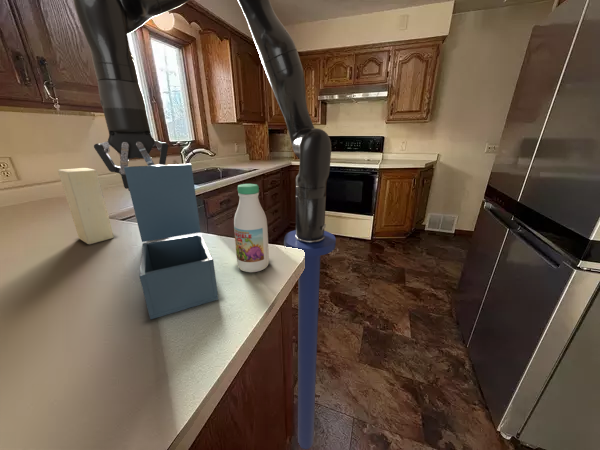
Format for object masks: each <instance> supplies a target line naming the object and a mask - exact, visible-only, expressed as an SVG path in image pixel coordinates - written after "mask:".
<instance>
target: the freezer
mask: <svg viewBox="0 0 600 450" xmlns="http://www.w3.org/2000/svg"><path fill="white" fill-rule="evenodd" d="M140 255H141V256H140V265H139V275H138V276H139V280H140V284H141V290H142V292H143V296H144V301H145V305H146V308H147V312H148V316H149V320H155V319H157V318H161V317H164V316H167V315H171V314H174V313H177V312H180V311H184V310H187V309H192V308H194V307H198V306H200V305H204V304H208V303H211V302H214V301H218V300H219V293H218V284H217V277H216V270H215V269H216V268H215V262H214V258H213V256H212V254H211V251H210V250H209V248H208V245H207V243H206V242H205V239H204V237H203V235H202V234H201V233H195V234H189V235H183V236H177V237H171V238H165V239H159V240H153V241H147V242H142V245H141V253H140Z"/></svg>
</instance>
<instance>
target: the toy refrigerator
mask: <svg viewBox="0 0 600 450" xmlns="http://www.w3.org/2000/svg"><path fill="white" fill-rule="evenodd" d="M57 172H58V176H59V179H60V182H61V185H62V189H63V192H64V195H65V199H66V201H67V205H68V208H69V212H70V214H71V218H72V220H73V224H74V227H75V230H76V233H77V236H78V239H79V240H80V241H82V242H84V243H85V244H87V245H92V244H96V243H99V242H103V241H107V240H110V239H114V232H113V228H112V225H111V220H110V217H109V213H108V210H107V209H108V208H107V205H106V201H105V197H104V193H103V190H102V185H101V182H100V179H99V174H98V171H97V169H93V168H90V167H89V168H88V167H79V168H78V167H76V168H64V169H58V170H57Z"/></svg>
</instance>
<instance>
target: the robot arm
mask: <svg viewBox="0 0 600 450" xmlns="http://www.w3.org/2000/svg"><path fill="white" fill-rule="evenodd" d="M72 1H73V5H74V8H75V12H76V15H77V18H78V22H79V24H80V26H81V29H82V32H83V35H84V37H85V40H86V42H87V45H88V48H89V51H90V55H91V61H92V65H93V69H94V70H93V71H94V73H95V77H96V81H97V87H98V96H99V102H100V105H101V107H102V111H103V116H104V119H105V123H106V127H107V131H108V138H107V141H103V142H101V143H94V144H93V148H94V149H95V151H96V153H97V154H98V156H99V158H100V159H101V160H102V163H104V165H105V167H106V168H107V169H108V171H109V172H111V173H117V174H119V175H120V176H121V180H122V184H123V187H124V189H126V190H127V189H128V191H129V192H130V190H129V186H128V182H127V178H126V174H125V170H124V167H129V161H130V159H131V160H132V159H135V158H137V159H143V160H144V161H145V163H146V166H154V165H167V164H166V162H167V157H168V150H169V145H168V143H167V142H162V141H158V140H155V138H154V137H153V135H152V133H151V132H152V131H151V127H150V122H149V117H148V113H147V107H146V102H145V99H144V94H143V91H142V88H141V85H140V81H139V75H138V74H139V73H138V70H137V66H136V61H135V59H134V56H133V54H132V52H131V48H130V43H129V37H128V35H129V34H131V33H133V32H134V31H136V30H137V29H138V28H140V27H142V26H143V25H145V24H146V23H147V22H149V20H151V19H152V18H154V17H158V16H161V15H163V14H166V13H168V12H170V11H172V10H174V9H177V8H179V7H182V6H183V5H184V4H186V3H188V2H189V1H190V0H72ZM237 2H238V4H239V6H240V8H241V10H242V12H243V15H244V17H245V20H246V22H247V25H248V28H249V30H250V33H251V37H252V39H253V42H254V44H255V47H256V49H257V52H258V54H259V58H260V61H261V64H262V66H263V69H264V71H265V74H266V77H267V79H268V82H269V85H270V87H271V89H272V92H273V94H274V97H275V100H276V102H277V104H278V107H279V109H280V111H281V114H282V116H283V118H284V119H283V120H284V122H285V125H286V128H287V131H288V135H289V139H290V144H291V147H292V150H293V152H294V154H295V156H296V158H298V159H299V168H298V169H299V170H298V173H297V175H296V176H295V230H296V235H295V238H296V240H298V241H299V242H302V243H319V242H321V241H323V240H324V231H325V229H326V228H327V227H326V225H327V224H326V204H327V203H326V201H327V183H328V182H327V181H328V179H329V176H330V170H331V159H332V142H331V138H330V136H329V134H328V133H327V132H326V131H325V130H323V129H322V128H315V126H314V123H313V122H312V118H311V116H310V111H309V109H308V104H307V92H306V79H305V73H304V68H303V65H302V62H301V58H300V54H299V52H298V49H297V45H296V43H295V40H294V39H293V37H292V35H291V34H290V33H289V31H288V29H287V28H286V27H285V26H284V24H283V23H282V22H281V20H280V19H279V17H278V16H277V14H276V12H275V11H274V8H273V6H272V2H271V0H237ZM154 146H156V150H157V151H158V152H160V155H159V161H158V163H157V164H155V163H154V161H153V159H152V157H151V155H150V153H151V152H152V150H153V148H154ZM110 147H111V148H113V149H114V150H115V151H116V152H117V153H118V154H119V155H120V161H119V166H118V165H116V164H115V162H114V160H113V159H112V157H111V156H110V154H109V153H110V152H111V149H110Z"/></svg>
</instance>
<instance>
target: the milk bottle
mask: <svg viewBox="0 0 600 450" xmlns="http://www.w3.org/2000/svg"><path fill="white" fill-rule="evenodd" d="M237 193H238V195H237V196H238V197H239V201H238V205H237V208H236V211H235V213H234V218H233V230H234V231H233V232H234V244H235V253H236V265H237V267H238V269H239V270H240V271H243V272H246V273H256V272H260V271H262V270H264V269H266V268H268V266H269V263H270V253H269V249H270V248H269V233H268V232H269V231H268V220H267V215H266V213H265V211H264V209H263V207H262V205H261V203H260V199H259V195H260V187H259V184H257V183H241V184H238V185H237Z"/></svg>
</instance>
